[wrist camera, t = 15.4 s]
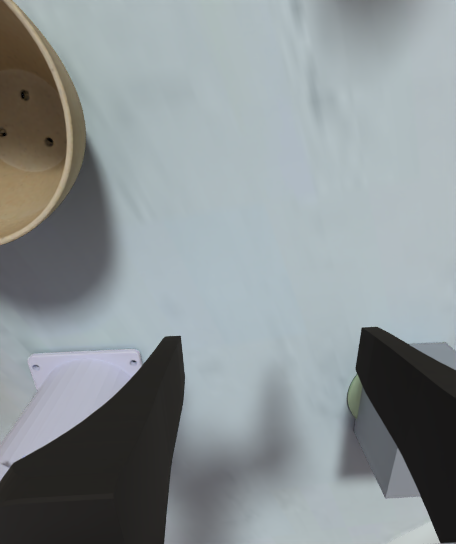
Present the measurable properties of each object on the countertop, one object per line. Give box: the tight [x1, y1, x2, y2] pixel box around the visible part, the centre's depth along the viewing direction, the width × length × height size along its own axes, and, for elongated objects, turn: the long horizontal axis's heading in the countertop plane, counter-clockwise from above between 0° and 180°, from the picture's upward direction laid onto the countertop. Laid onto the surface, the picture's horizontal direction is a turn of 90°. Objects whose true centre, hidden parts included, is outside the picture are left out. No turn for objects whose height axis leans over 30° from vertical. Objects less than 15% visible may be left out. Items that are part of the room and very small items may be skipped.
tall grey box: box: [354, 342, 456, 498], centre depth 23 cm, size 9×6×6 cm
